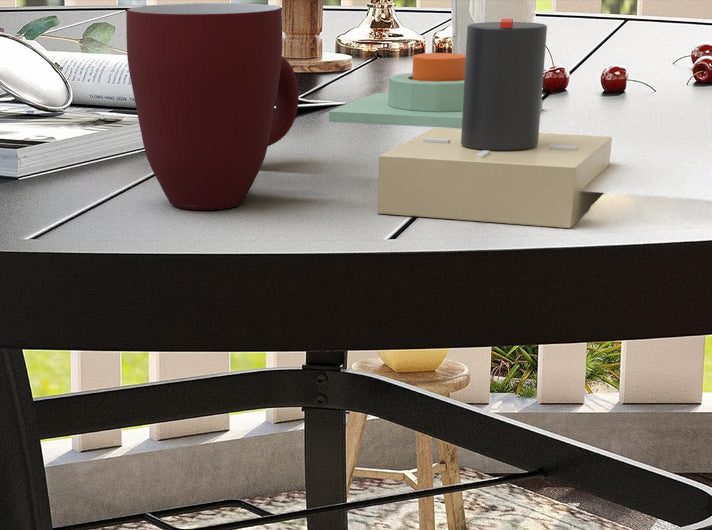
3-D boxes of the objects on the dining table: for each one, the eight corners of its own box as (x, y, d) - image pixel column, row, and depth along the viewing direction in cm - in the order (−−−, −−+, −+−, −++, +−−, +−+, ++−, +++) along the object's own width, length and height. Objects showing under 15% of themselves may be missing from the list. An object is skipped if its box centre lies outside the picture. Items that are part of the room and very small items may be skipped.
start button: (472, 80, 95) (474, 53, 94) (458, 87, 92) (459, 59, 91) (420, 79, 96) (422, 52, 95) (405, 85, 93) (406, 57, 92)
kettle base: (540, 132, 97) (545, 72, 96) (506, 155, 89) (510, 89, 87) (375, 124, 102) (377, 66, 100) (328, 144, 93) (329, 82, 92)
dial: (463, 137, 76) (470, 15, 74) (538, 139, 75) (548, 15, 73) (458, 149, 73) (465, 21, 70) (537, 151, 72) (547, 22, 69)
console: (606, 192, 77) (612, 133, 76) (570, 228, 69) (576, 163, 68) (431, 180, 81) (433, 124, 80) (376, 213, 73) (379, 151, 72)
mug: (226, 177, 83) (225, -2, 79) (337, 193, 78) (342, 3, 74) (101, 206, 76) (92, 10, 72) (215, 225, 71) (213, 16, 67)
